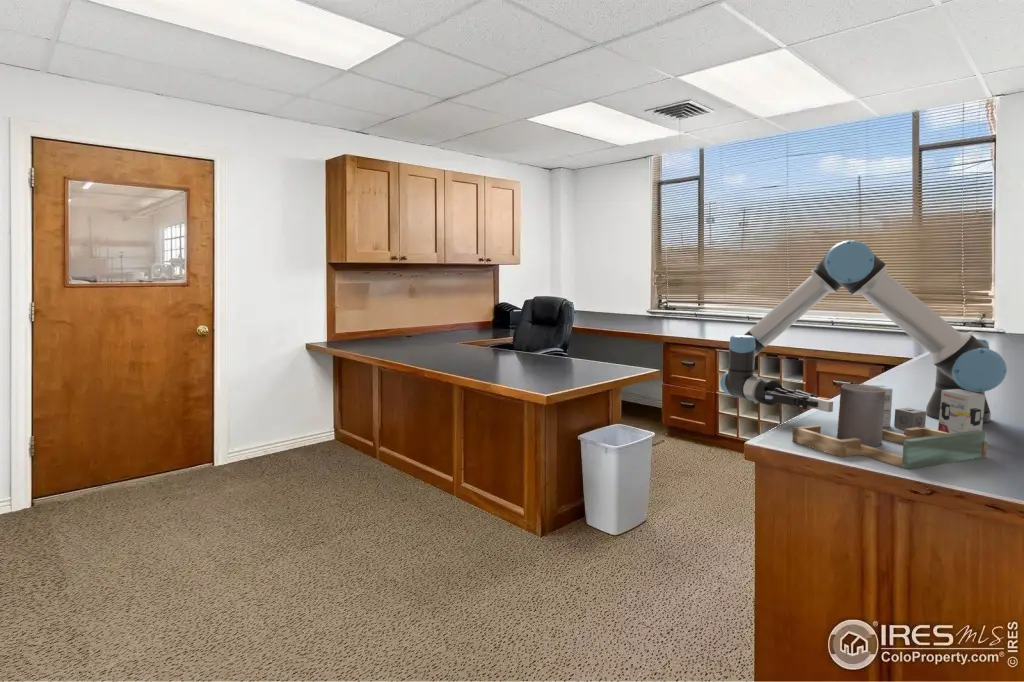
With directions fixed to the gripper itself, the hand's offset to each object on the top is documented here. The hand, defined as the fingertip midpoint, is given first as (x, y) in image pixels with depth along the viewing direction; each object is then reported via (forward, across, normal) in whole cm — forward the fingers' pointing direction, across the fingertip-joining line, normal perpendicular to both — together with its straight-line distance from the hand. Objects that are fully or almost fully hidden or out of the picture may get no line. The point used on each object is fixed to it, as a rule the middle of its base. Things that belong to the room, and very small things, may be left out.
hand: (830, 406), depth 156 cm
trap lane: (+15, 0, -7) cm, 16 cm away
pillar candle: (+9, 0, -7) cm, 11 cm away
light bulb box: (-4, -18, -7) cm, 20 cm away
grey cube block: (+4, -25, -7) cm, 26 cm away
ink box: (+15, -28, -7) cm, 32 cm away
